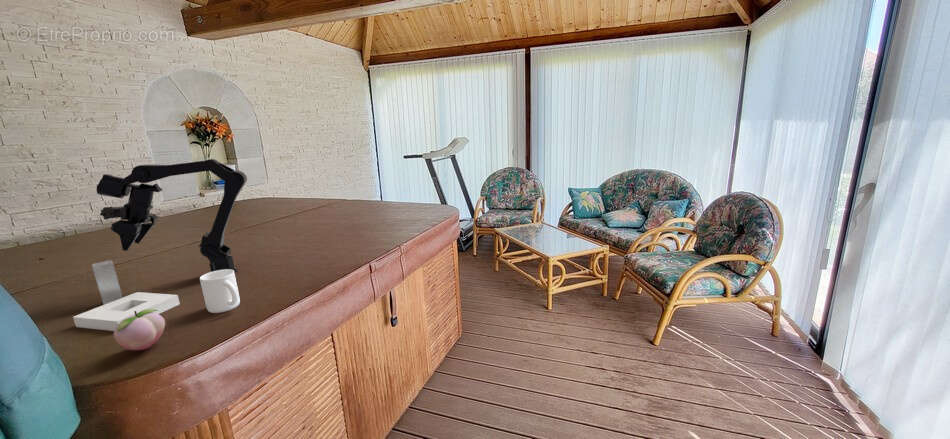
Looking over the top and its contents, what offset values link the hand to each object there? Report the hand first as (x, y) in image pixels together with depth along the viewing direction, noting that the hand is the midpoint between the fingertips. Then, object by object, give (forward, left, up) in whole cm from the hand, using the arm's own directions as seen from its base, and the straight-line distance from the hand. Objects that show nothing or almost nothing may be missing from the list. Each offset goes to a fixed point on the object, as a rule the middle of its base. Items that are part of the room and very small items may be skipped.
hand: (131, 246), depth 123 cm
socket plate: (-14, +22, -15) cm, 30 cm away
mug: (-41, +22, -15) cm, 48 cm away
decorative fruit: (-33, +42, -15) cm, 55 cm away
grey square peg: (-1, +12, -15) cm, 19 cm away
